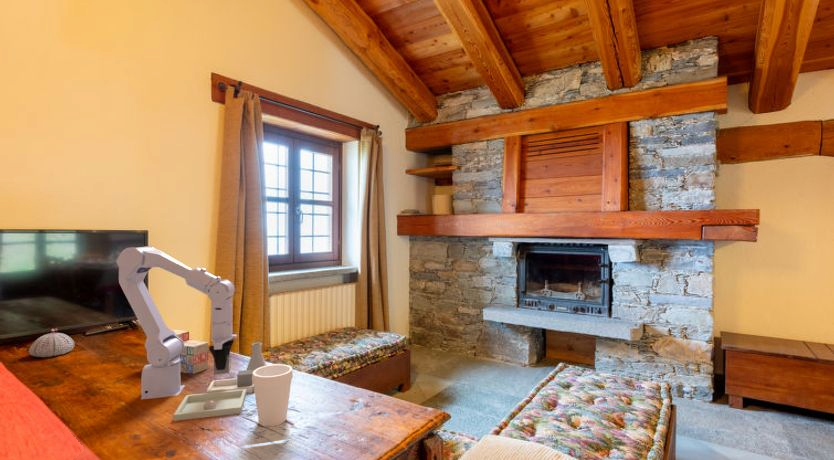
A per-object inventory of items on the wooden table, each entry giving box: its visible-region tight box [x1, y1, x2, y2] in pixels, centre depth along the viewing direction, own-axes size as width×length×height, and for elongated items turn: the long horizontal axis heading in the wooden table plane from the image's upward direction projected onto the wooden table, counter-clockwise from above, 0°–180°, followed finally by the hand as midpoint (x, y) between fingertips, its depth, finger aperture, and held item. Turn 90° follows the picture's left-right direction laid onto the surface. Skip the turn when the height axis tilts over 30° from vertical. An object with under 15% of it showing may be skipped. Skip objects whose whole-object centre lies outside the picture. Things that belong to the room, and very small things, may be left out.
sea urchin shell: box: [28, 332, 76, 358], centre depth 159 cm, size 13×14×8 cm
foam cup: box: [252, 363, 294, 427], centre depth 103 cm, size 10×9×13 cm
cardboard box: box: [148, 329, 209, 375], centre depth 143 cm, size 21×6×12 cm, turn 69°
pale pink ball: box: [204, 400, 216, 410], centre depth 107 cm, size 3×3×3 cm
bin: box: [172, 389, 247, 422], centre depth 111 cm, size 16×13×2 cm
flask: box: [246, 342, 267, 371], centre depth 137 cm, size 7×7×10 cm
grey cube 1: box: [236, 369, 253, 387], centre depth 124 cm, size 4×4×4 cm
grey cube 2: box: [213, 353, 232, 376], centre depth 122 cm, size 4×4×4 cm
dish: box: [205, 377, 255, 394], centre depth 123 cm, size 13×9×2 cm
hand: (222, 366), depth 122 cm, fingers closed on grey cube 2, 4 cm apart
